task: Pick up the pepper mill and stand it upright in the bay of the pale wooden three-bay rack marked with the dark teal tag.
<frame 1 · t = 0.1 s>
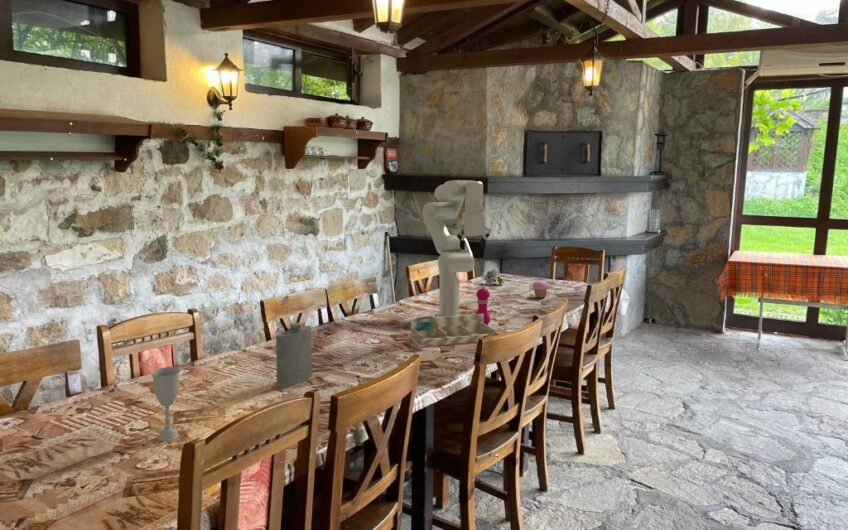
hand: (472, 248, 278), 37 cm above the table, tool pointing down, fingers open, 9 cm apart
chalice: (168, 437, 167), on the table
hip flask: (295, 382, 211), on the table
passion flower: (493, 284, 396), on the table
pepper mill: (481, 329, 285), on the table
cupcake: (540, 297, 357), on the table
rack: (452, 339, 266), on the table
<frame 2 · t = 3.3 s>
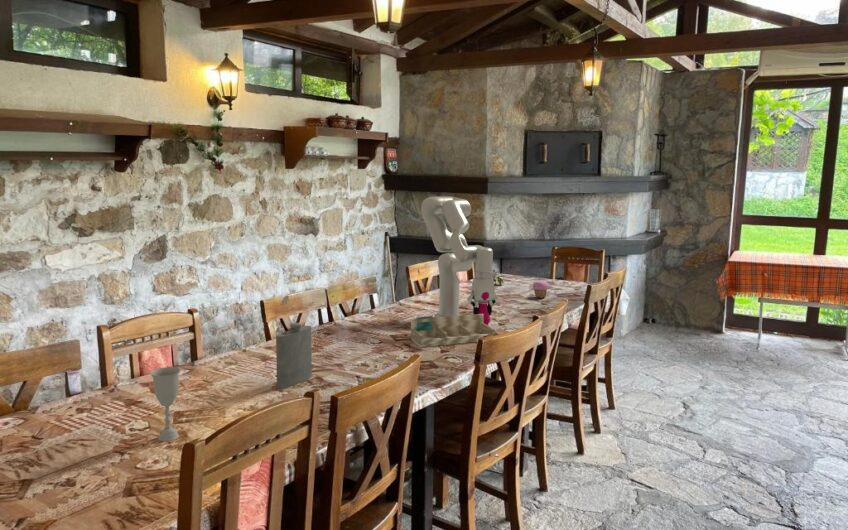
hand: (482, 314, 284), 7 cm above the table, tool pointing down, fingers closed on pepper mill, 5 cm apart
pepper mill: (481, 329, 285), on the table, touching gripper
everything else where it was.
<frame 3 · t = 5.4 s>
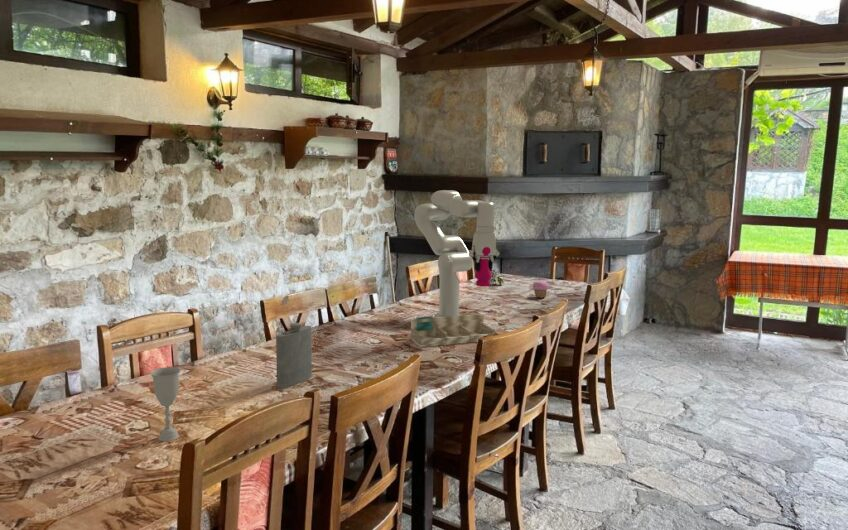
hand: (483, 270, 281), 27 cm above the table, tool pointing down, fingers closed on pepper mill, 5 cm apart
pepper mill: (483, 285, 282), point 20 cm above the table, touching gripper
everything else where it was.
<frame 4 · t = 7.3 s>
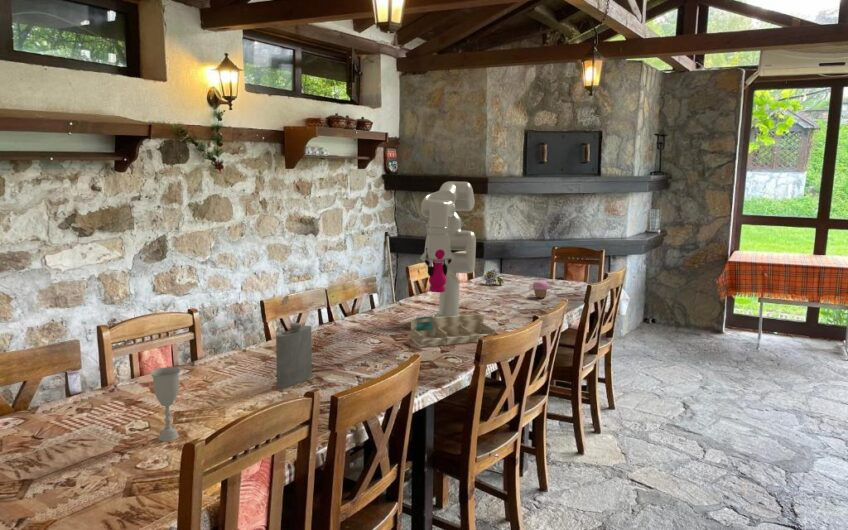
hand: (437, 274, 261), 28 cm above the table, tool pointing down, fingers closed on pepper mill, 5 cm apart
pepper mill: (437, 291, 262), point 21 cm above the table, touching gripper
everything else where it was.
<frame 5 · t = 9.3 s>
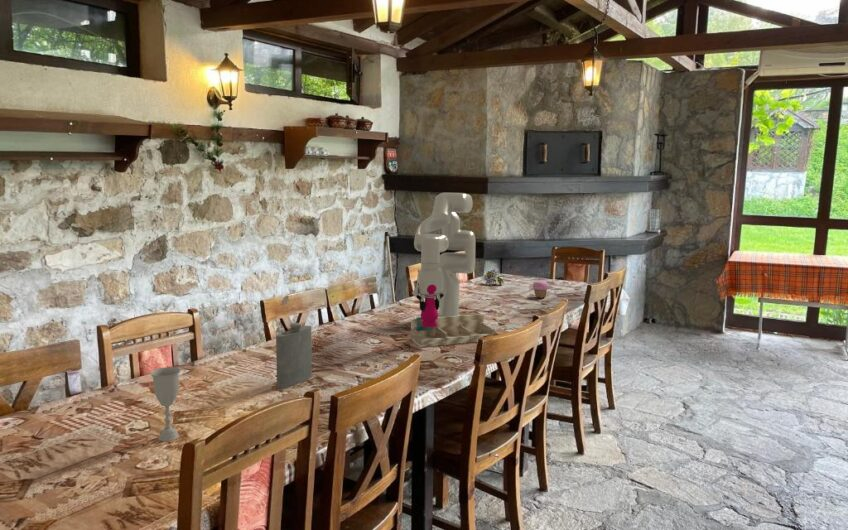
hand: (429, 309, 260), 14 cm above the table, tool pointing down, fingers closed on pepper mill, 5 cm apart
pepper mill: (429, 326, 261), point 7 cm above the table, touching gripper
everything else where it was.
when the fingers open (9 cm above the table, at t = 10.7 s): pepper mill drops 1 cm, resting on rack.
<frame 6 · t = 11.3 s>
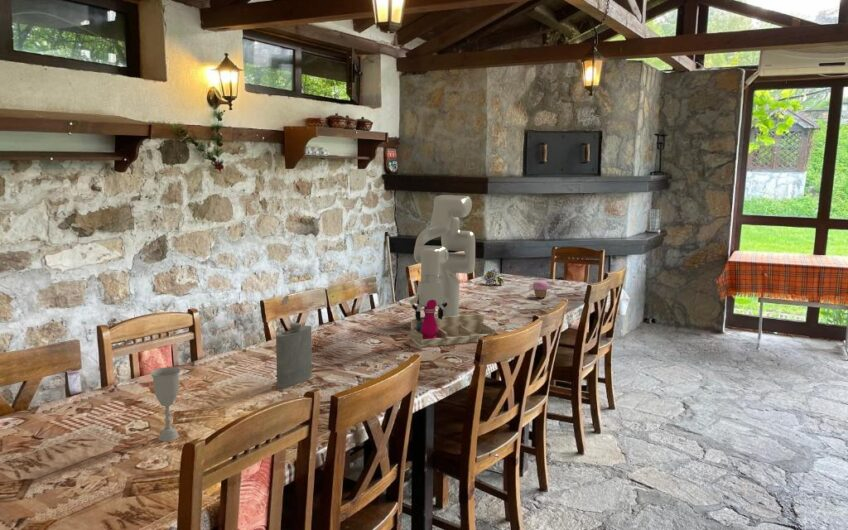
hand: (429, 319, 261), 10 cm above the table, tool pointing down, fingers open, 9 cm apart
pepper mill: (429, 340, 262), point 1 cm above the table, touching rack
everything else where it was.
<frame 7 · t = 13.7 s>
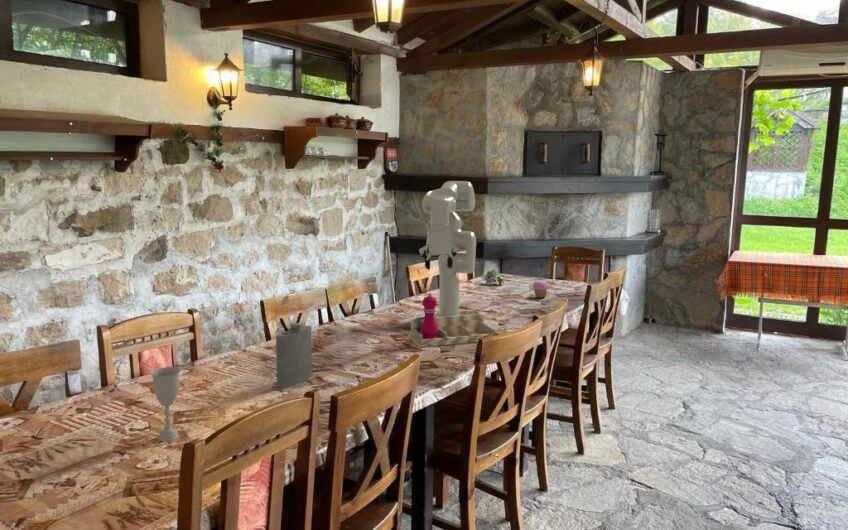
hand: (438, 268, 265), 30 cm above the table, tool pointing down, fingers open, 9 cm apart
nothing on the table moved.
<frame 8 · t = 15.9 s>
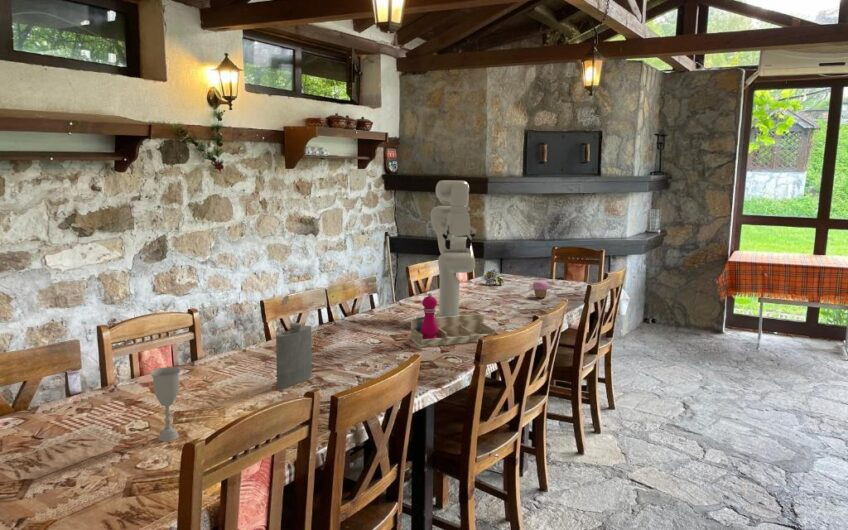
hand: (458, 248, 279), 36 cm above the table, tool pointing down, fingers open, 9 cm apart
nothing on the table moved.
at the end: pepper mill inside the target area on the rack (0.1 cm from its centre), point 0.6 cm above the rack's base; pepper mill tilted 0°; the gripper is holding nothing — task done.
